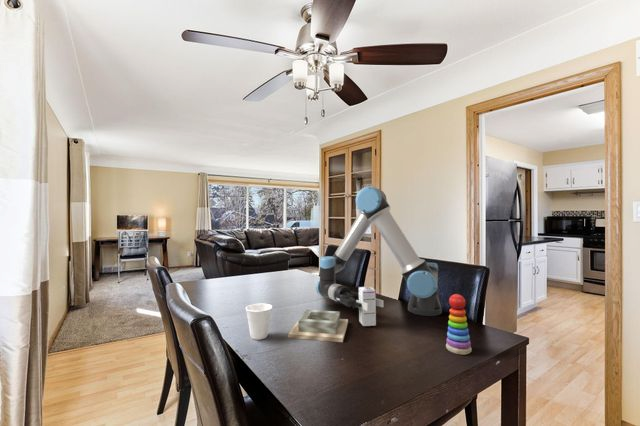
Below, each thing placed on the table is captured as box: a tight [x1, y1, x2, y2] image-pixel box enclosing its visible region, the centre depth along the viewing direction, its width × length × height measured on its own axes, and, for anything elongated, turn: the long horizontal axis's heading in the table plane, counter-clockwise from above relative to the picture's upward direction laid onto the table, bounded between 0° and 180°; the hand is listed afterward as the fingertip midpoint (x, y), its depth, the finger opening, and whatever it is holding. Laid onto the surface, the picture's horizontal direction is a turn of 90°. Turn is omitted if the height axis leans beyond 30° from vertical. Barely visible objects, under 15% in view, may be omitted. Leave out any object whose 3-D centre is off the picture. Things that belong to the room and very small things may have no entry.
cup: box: [245, 303, 273, 341], centre depth 116 cm, size 10×10×11 cm
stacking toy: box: [445, 293, 473, 355], centre depth 105 cm, size 8×8×19 cm
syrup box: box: [358, 286, 377, 327], centre depth 128 cm, size 6×6×14 cm
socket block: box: [287, 309, 349, 343], centre depth 123 cm, size 20×20×6 cm
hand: (375, 305), depth 124 cm, fingers closed on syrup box, 7 cm apart
